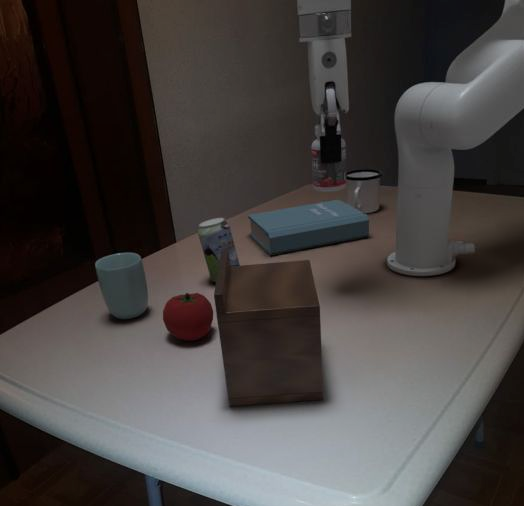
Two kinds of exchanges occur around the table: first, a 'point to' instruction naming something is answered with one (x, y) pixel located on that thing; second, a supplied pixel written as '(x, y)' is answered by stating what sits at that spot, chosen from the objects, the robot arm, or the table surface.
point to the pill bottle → (328, 168)
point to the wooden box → (269, 332)
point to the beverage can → (216, 244)
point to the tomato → (188, 316)
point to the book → (308, 226)
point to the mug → (363, 189)
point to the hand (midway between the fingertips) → (328, 157)
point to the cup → (123, 284)
